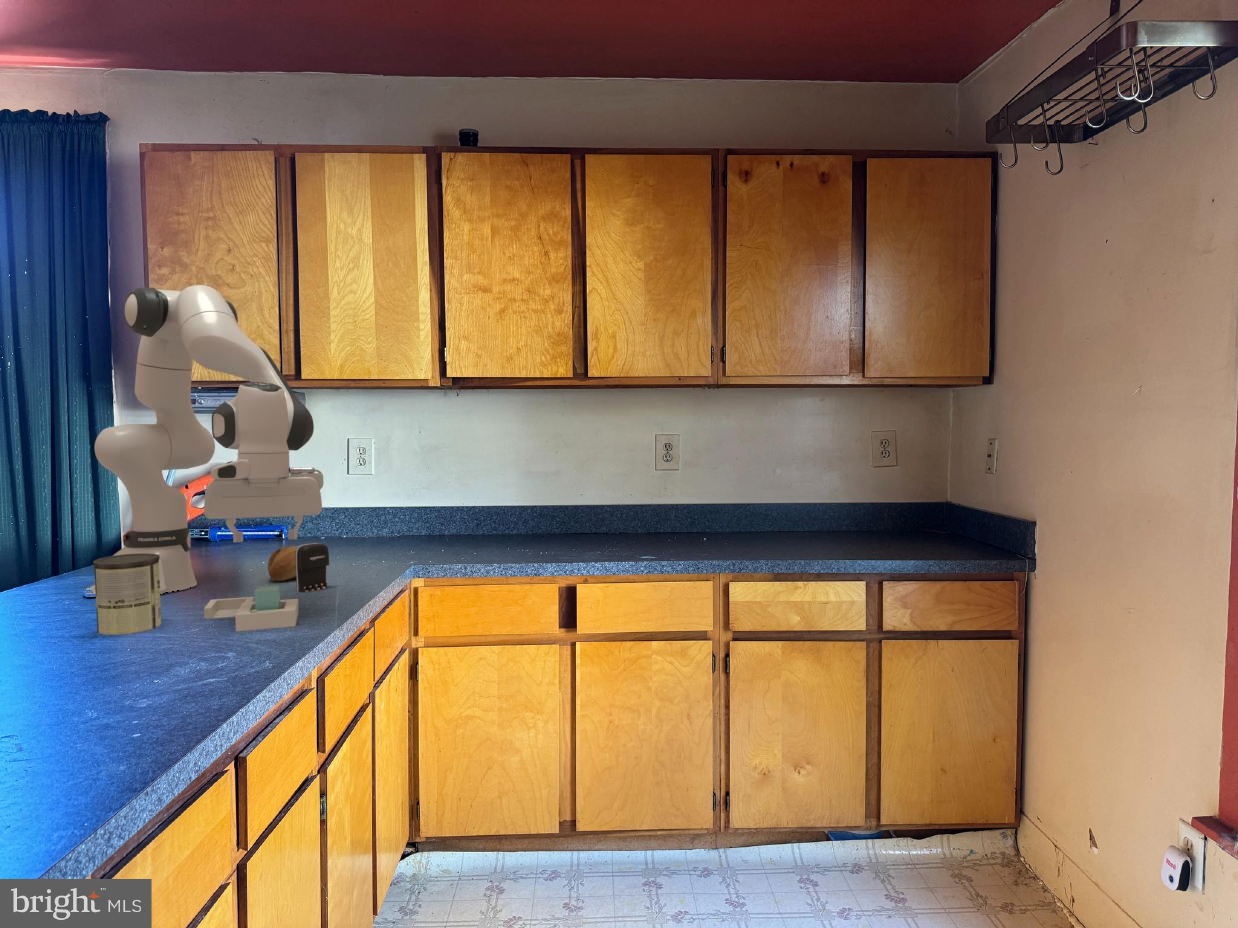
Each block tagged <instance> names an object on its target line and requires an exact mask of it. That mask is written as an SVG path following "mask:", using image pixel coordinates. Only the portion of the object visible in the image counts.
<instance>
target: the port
mask: <svg viewBox="0 0 1238 928" xmlns="http://www.w3.org/2000/svg"><path fill="white" fill-rule="evenodd" d="M235 616H236V617H235V632H244V631H245V632H246V631H247V632H248V631H257V630H268V629H270V630H271V629H280V628H281V629H282V628H291V627H292V628H293V627H296V625H297V621H298V617H299V598H291V599H290V598H289V599H280V609H274V610H261V611H258V610H257V609H255V601H254V602H247V603H242V605H241V606H240V608H239V610H238V611H237V613H236V615H235Z"/></svg>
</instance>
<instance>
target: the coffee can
mask: <svg viewBox="0 0 1238 928" xmlns="http://www.w3.org/2000/svg"><path fill="white" fill-rule="evenodd" d="M159 559H160V556H159V555H157V554H149V553H140V554H124V555H116V556H113V555H111V556H110V555H109V556H106V557H105V556H104V557H100V558H98V559H95V560H93V567H94V584H95V590H96V598H95V607H96V627H97V630H96V631H97V634H98V633H99V635H103V636H104V635H105V636H115V635H116V636H118V635H120V636H121V635H122V636H123V635H129V634H136V633H142V632H147V631H151V630H153V629H157V628H158V627H160V626H162V606H161V595H160V576H159Z"/></svg>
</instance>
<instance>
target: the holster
mask: <svg viewBox="0 0 1238 928" xmlns="http://www.w3.org/2000/svg"><path fill="white" fill-rule="evenodd" d="M247 602H255V596H246V597H228V598H218V599H217V598H216V599H210V600H209V601H208V603H207V604H206V605H205V607H204V608H203V619H204V620H210V619H211V620H212V619H222V618H224V619H225V618H232V617H233V618H234V617H235V618H236V616H235V615H236V613H237V611H238V610H239V608H240V606H241V605H242V603H247Z"/></svg>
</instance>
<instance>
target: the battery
mask: <svg viewBox="0 0 1238 928" xmlns="http://www.w3.org/2000/svg"><path fill="white" fill-rule="evenodd" d="M328 566H330V553H329V547H328V546H327V545H326V544H323V543H320V542H313V543H312V542H311V543H307V544H301V545H298V547H297V549H296V551H295V569H296V577H295V580H296V582H295V583H296V592H298V593H305V592H306V593H307V592H310V591H316V589H317V590H320V589H326V588H328V583H327V567H328Z"/></svg>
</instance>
